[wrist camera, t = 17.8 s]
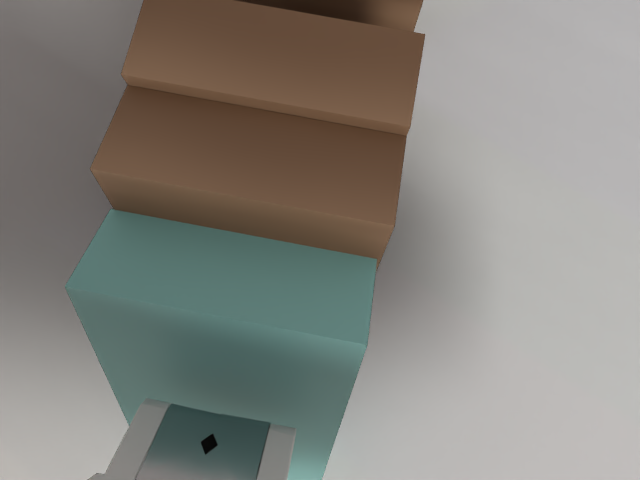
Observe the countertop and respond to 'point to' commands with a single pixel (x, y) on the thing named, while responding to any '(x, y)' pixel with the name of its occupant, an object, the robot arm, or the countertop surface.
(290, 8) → the domino
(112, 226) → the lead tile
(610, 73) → the countertop surface
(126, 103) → the domino
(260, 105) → the domino
